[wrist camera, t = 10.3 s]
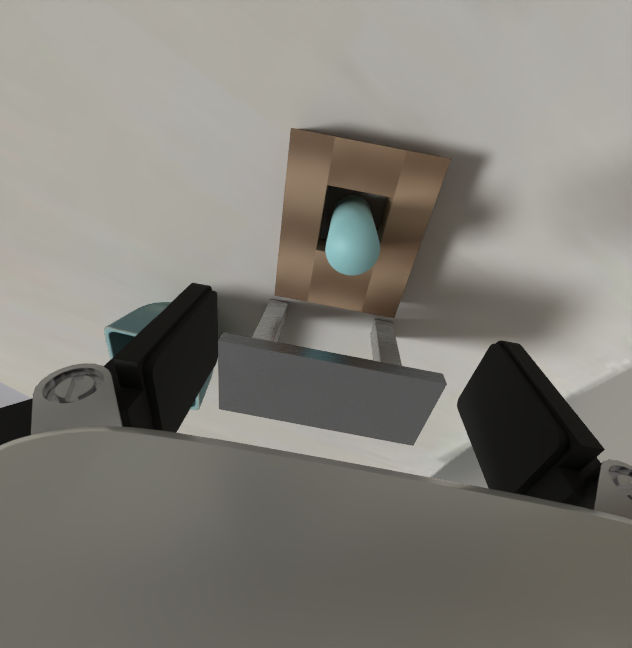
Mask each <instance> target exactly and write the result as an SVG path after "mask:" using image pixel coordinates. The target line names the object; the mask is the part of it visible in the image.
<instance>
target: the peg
mask: <svg viewBox="0 0 632 648" xmlns="http://www.w3.org/2000/svg"><path fill="white" fill-rule="evenodd" d="M325 252H326V257H327V260H328V262H329V264H330V265H331V266H332V267H333V268H334V269H335V270H336V271H338V272H339V273H342V274H345V275H359V274H362V273H364V272H366V271H368V270H369V269H371V268H372V267H373V266H374V264H375V263H376V261H377V259H378V257H379V254H380V242H379V238H378V235H377V231H376V227H375V224H374V220H373V216H372V213H371V209H370V206H369V204H368V203H367V202H366V200H364V199H363V198H361V197H359V196H355V195H350V196H346V197H344V198H342V199H341V200H340V201H339V202H338V203H337V204H336V206H335V208H334V210H333V215H332V219H331V224H330V228H329V233H328V237H327V242H326V248H325Z"/></svg>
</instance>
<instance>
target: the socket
mask: <svg viewBox="0 0 632 648" xmlns="http://www.w3.org/2000/svg"><path fill="white" fill-rule="evenodd" d="M450 160H451V159H448V158H444V157H440V156H435V155H430V154H425V153H420V152H414V151H409V150H404V149H399V148H394V147H389V146H384V145H378V144H373V143H368V142H363V141H358V140H353V139H347V138H342V137H337V136H332V135H327V134H322V133H317V132H311V131H306V130H301V129H294V128H291V133H290V144H289V154H288V164H287V174H286V184H285V194H284V204H283V215H282V225H281V235H280V245H279V255H278V265H277V275H276V285H275V296H280V297H286V298H291V299H296V300H301V301H307V302H312V303H317V304H322V305H328V306H333V307H338V308H343V309H349V310H354V311H359V312H364V313H369V314H375V315H380V316H385V317H390V318H394V317H395V314H396V311H397V308H398V306H399V303H400V300H401V297H402V294H403V292H404V289H405V286H406V283H407V281H408V278H409V275H410V272H411V269H412V267H413V264H414V261H415V258H416V255H417V253H418V250H419V247H420V244H421V241H422V239H423V236H424V233H425V230H426V227H427V225H428V222H429V219H430V216H431V213H432V211H433V208H434V205H435V202H436V199H437V197H438V194H439V191H440V188H441V185H442V183H443V180H444V177H445V174H446V171H447V169H448V166H449V163H450ZM329 185H330V186H335V187H340V188H345V189H351V190H356V191H361V192H366V193H371V194H376V195H382V196H387V200H386V203H385V207H384V211H383V214H382V218H381V222H380V225H379V229H378V233H377V235H378V238H379V242H380V254H379V257H378V259H377V261H376V263H375V264H374V266H373V267H372V268H371V269H369V270H368V271H366V272H364V273H362V274H359V275H345V274H342V273H339V272H338V271H336V270H335V269H334V268H333V267H332V266H331V265H330V264H329V262H328V260H327V257H326V252H325V248H326V242H327V240H324V239H320V233H321V227H322V221H323V215H324V209H325V203H326V197H327V192H328V186H329Z"/></svg>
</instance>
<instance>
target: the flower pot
mask: <svg viewBox="0 0 632 648" xmlns="http://www.w3.org/2000/svg"><path fill="white" fill-rule="evenodd" d="M170 303H171V302H161V303H153V304H148V305H145V306H142V307H140V308H138V309H136V310H134V311H133V312H131V313H129V314H127V315H126V316H124V317H122V318H120V319H119V320H117V321H115V322H114V323H112V324H110V325H108V326H107V327H105V328H104V335H105V338H106V343H107V347H108V351H109V355H110V360H111V359H112V358H113V357H114V356H115V355H116V354H117V353H118V352H119V351H120V350H121V349H122V348H124V347H125V346H126V345H127V344H128V343H129V342H130V341H131V340H132V339H133V338H134V337H135V336H136V335H137V334H138V333H139V332H140V331H141V330H142V329H143V328H145V327H146V326H147V325H148V324H149V323H150V322H151V321H152V320H153V319H154V318H156V317H157V316H158V315H159V314H160V313H161V312H162V311H163V310H164V309H165V308H166V307H167V306H168V305H169V304H170ZM212 373H213V370H212V371H211V373H210V375H209V377H208V378H207V380H206V382H205V384H204V385H203V387H202V389H201V391H200V392H199V394H198V396H197V397H196V399H195V401H194V403H193V404H192V406H191V408H190V409H191V410H198V409H199V408H200V405H201V403H202V400H203V398H204V395H205V393H206V390H207V387H208V385H209V382H210V379H211V377H212Z"/></svg>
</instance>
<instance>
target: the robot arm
mask: <svg viewBox="0 0 632 648" xmlns="http://www.w3.org/2000/svg"><path fill="white" fill-rule="evenodd" d="M217 359H218V318H217V293H216V291H212V288H211V287H210V286H207V285H202V284H197V283H192V284H190V285H189V286H188V287H187V288H186V289H185V290H184V291H183V292H182V293H181V294H180V295H179V296H178V297H177V298H176V299H175V300H174V301H172V302H171V303H170V304H169V305H168V306H167V307H166V308H165V309H164V310H163V311H162V312H161V313H160V314H159V315H158V316H157V317H156V318H154V319H153V320H152V321H151V322H150V323H149V324H148V325H147V326H146V327H145V328H143V329H142V330H141V331H140V332H139V333H138V334H137V335H136V336H135V337H134V338H133V339H132V340H131V341H130V342H129V343H128V344H127V345H126V346H125V347H124V348H122V349H121V350H120V351H119V352H118V353H117V354H116V355H115V356H114V357H113V358H112V359H111V360H110V361H109V362H108V363H107V364H106V365H105V366H104V367H103V366H101V365H97V364H77V365H72V366H68V367H65V368H62V369H59V370H57V371H55V372H53V373H51V374H49V375H48V376H47V377H45V378H44V379H43V380H41V381H40V383H39V384H38V385H37V386H36V387H35V390H34V393H33V399H29V400H26V401H23V402H19V403H16V404H13V405H9V406H6V407H3V408H0V648H632V466H631V465H629V464H626V463H623V462H621V461H617V460H606V461H604V462H602V463H600V461H599V460H598V459H597V456H598V455H599V454H600V453H601V452H602V451H604V450H605V449H604V448H603V447H602V445H601V444H600V443H599V442H598V440H597V439H596V438H595V437H594V435H593V434H592V433H591V432H590V431H589V429H588V428H587V427H586V425H585V424H584V423H583V422H582V420H581V419H580V418H579V417H578V415H577V414H576V413H575V412H574V411H573V409H572V408H571V407H570V406H569V404H568V403H567V402H566V401H565V399H564V398H563V397H562V396H561V394H560V393H559V392H558V391H557V389H556V388H555V387H554V386H553V384H552V383H551V382H550V381H549V379H548V378H547V377H546V376H545V374H544V373H543V372H542V371H541V369H540V368H539V367H538V366H537V364H536V363H535V362H534V361H533V360H532V358H531V357H530V356H529V355H528V353H527V352H526V351H525V350H524V348H523V347H522V346H521V345H520V344H517V343H512V342H507V341H498V342H497V343H496V344H492V345H491V346H490V347H489V348H488V350H487V352H486V353H485V355H484V357H483V358H482V360H481V362H480V363H479V365H478V367H477V369H476V370H475V372H474V374H473V375H472V377H471V379H470V380H469V382H468V384H467V385H466V387H465V389H464V390H463V392H462V394H461V395H460V397H459V399H458V402H457V408H458V411H459V413H460V416H461V419H462V421H463V424H464V426H465V429H466V431H467V434H468V436H469V439H470V442H471V444H472V447H473V449H474V452H475V454H476V457H477V459H478V462H479V465H480V467H481V470H482V472H483V475H484V477H485V480H486V483H487V485H488V488H489V489H487V488H482V487H477V486H472V485H467V484H461V483H456V482H451V481H446V480H440V479H435V478H430V477H424V476H419V475H413V474H408V473H402V472H397V471H392V470H386V469H381V468H375V467H370V466H364V465H359V464H353V463H348V462H342V461H337V460H331V459H326V458H320V457H315V456H309V455H304V454H298V453H292V452H287V451H281V450H275V449H270V448H264V447H259V446H253V445H247V444H242V443H236V442H231V441H225V440H218V439H212V438H206V437H200V436H194V435H187V434H181V433H176V432H177V430H178V429H179V427H180V425H181V423H182V422H183V420H184V418H185V417H186V415H187V413H188V411H189V410H190V408H191V406H192V404H193V403H194V401H195V399H196V397H197V396H198V394H199V392H200V391H201V389H202V387H203V385H204V384H205V382H206V380H207V378H208V377H209V375H210V373H211V371H212V370H213V368H214V366H215V365H216V362H217Z"/></svg>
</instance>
